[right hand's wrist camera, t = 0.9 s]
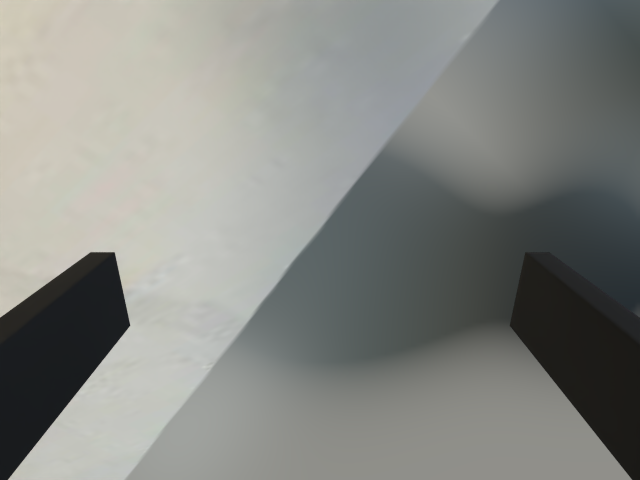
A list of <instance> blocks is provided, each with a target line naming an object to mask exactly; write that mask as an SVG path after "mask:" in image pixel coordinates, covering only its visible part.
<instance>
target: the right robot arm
mask: <svg viewBox="0 0 640 480" xmlns="http://www.w3.org/2000/svg"><path fill="white" fill-rule="evenodd" d="M129 326H130V322H129V318H128V313H127V308H126V304H125V299H124V294H123V289H122V285H121V280H120V275H119V271H118V266H117V261H116V257H115V252H91V253H89V254H88V255H86V256H85V257H84V258H82V259H81V260H79V261H78V262H77V263H75V264H74V265H73V266H71V267H70V268H68V269H67V270H66V271H64V272H63V273H61V274H60V275H59V276H57V277H56V278H55V279H53V280H52V281H50V282H49V283H48V284H46V285H45V286H43V287H42V288H41V289H39V290H38V291H37V292H35V293H34V294H32V295H31V296H30V297H28V298H27V299H25V300H24V301H23V302H21V303H20V304H19V305H17V306H16V307H14V308H13V309H12V310H10V311H9V312H7V313H6V314H5V315H3V316H2V317H1V318H0V480H8V479H9V478H10V476H11V475H12V474H13V472H14V471H15V470H16V469H17V467H18V466H19V465H20V464H21V462H22V461H23V460H24V459H25V457H26V456H27V455H28V454H29V452H30V451H31V450H32V449H33V447H34V446H35V445H36V444H37V442H38V441H39V440H40V438H41V437H42V436H43V435H44V433H45V432H46V431H47V430H48V428H49V427H50V426H51V425H52V423H53V422H54V421H55V420H56V418H57V417H58V416H59V415H60V413H61V412H62V411H63V410H64V408H65V407H66V406H67V405H68V403H69V402H70V401H71V399H72V398H73V397H74V396H75V394H76V393H77V392H78V391H79V389H80V388H81V387H82V386H83V384H84V383H85V382H86V381H87V379H88V378H89V377H90V376H91V374H92V373H93V372H94V371H95V369H96V368H97V367H98V365H99V364H100V363H101V362H102V360H103V359H104V358H105V357H106V355H107V354H108V353H109V352H110V350H111V349H112V348H113V347H114V345H115V344H116V343H117V342H118V340H119V339H120V338H121V337H122V335H123V334H124V333H125V332H126V330H127V329H128V328H129ZM510 326H511V328H512V329H513V330H514V332H515V333H516V334H517V335H518V337H519V338H520V339H521V340H522V342H523V343H524V344H525V345H526V347H527V348H528V349H529V350H530V352H531V353H532V354H533V355H534V357H535V358H536V359H537V360H538V362H539V363H540V364H541V365H542V367H543V368H544V369H545V371H546V372H547V373H548V374H549V376H550V377H551V378H552V379H553V381H554V382H555V383H556V384H557V386H558V387H559V388H560V389H561V391H562V392H563V393H564V394H565V396H566V397H567V398H568V399H569V401H570V402H571V403H572V405H573V406H574V407H575V408H576V410H577V411H578V412H579V413H580V415H581V416H582V417H583V418H584V420H585V421H586V422H587V423H588V425H589V426H590V427H591V428H592V430H593V431H594V432H595V433H596V435H597V436H598V437H599V438H600V440H601V441H602V442H603V444H604V445H605V446H606V447H607V449H608V450H609V451H610V452H611V454H612V455H613V456H614V457H615V459H616V460H617V461H618V462H619V463H620V465H621V466H622V467H623V469H624V470H625V471H626V472H627V474H628V475H629V476H630V477H631V479H632V480H640V318H639V317H638V316H637V315H635V314H634V313H633V312H631V311H630V310H628V309H627V308H626V307H624V306H623V305H621V304H620V303H619V302H617V301H616V300H615V299H613V298H612V297H610V296H609V295H608V294H606V293H605V292H603V291H602V290H601V289H599V288H598V287H597V286H595V285H594V284H592V283H591V282H590V281H588V280H587V279H585V278H584V277H583V276H581V275H580V274H579V273H577V272H576V271H574V270H573V269H572V268H570V267H569V266H567V265H566V264H565V263H563V262H562V261H561V260H559V259H558V258H556V257H555V256H554V255H552V254H551V253H549V252H526V253H525V257H524V261H523V266H522V271H521V275H520V280H519V285H518V289H517V294H516V299H515V304H514V308H513V313H512V318H511V322H510Z"/></svg>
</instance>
